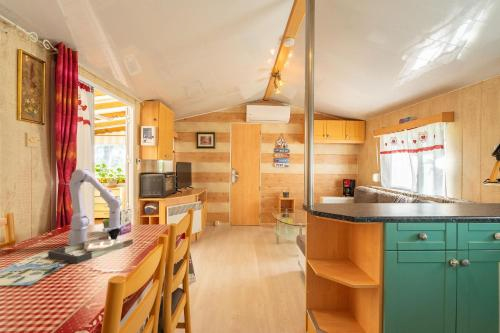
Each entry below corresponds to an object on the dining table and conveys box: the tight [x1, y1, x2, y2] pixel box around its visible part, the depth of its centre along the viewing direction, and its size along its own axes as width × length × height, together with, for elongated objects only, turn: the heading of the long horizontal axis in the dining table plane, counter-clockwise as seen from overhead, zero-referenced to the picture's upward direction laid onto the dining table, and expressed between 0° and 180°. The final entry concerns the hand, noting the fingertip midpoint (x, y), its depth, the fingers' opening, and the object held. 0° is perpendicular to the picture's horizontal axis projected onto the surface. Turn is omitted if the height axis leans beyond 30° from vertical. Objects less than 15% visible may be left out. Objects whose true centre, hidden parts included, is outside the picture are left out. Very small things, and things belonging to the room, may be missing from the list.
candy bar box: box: [118, 208, 132, 236], centre depth 182 cm, size 11×5×16 cm, turn 168°
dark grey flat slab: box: [47, 246, 93, 264], centre depth 132 cm, size 20×8×3 cm, turn 70°
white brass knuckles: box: [83, 238, 121, 253], centre depth 149 cm, size 3×18×15 cm
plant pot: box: [102, 218, 109, 234], centre depth 184 cm, size 9×9×9 cm
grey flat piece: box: [64, 234, 134, 259], centre depth 148 cm, size 20×27×3 cm
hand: (113, 241), depth 157 cm, fingers closed
